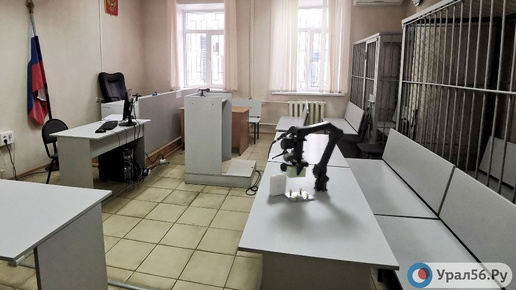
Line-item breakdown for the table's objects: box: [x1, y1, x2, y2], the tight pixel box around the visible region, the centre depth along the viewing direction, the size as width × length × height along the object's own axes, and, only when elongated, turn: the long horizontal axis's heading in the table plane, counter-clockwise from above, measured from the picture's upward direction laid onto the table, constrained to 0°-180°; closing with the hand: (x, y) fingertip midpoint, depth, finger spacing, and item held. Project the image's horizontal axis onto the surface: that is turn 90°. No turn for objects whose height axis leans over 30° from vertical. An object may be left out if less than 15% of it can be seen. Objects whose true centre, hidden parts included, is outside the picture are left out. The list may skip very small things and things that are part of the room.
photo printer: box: [268, 172, 288, 197], centre depth 190 cm, size 10×4×12 cm, turn 123°
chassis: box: [283, 187, 315, 203], centre depth 187 cm, size 14×11×4 cm
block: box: [286, 165, 307, 179], centre depth 192 cm, size 10×4×6 cm, turn 108°
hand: (296, 174), depth 193 cm, fingers closed on block, 4 cm apart
